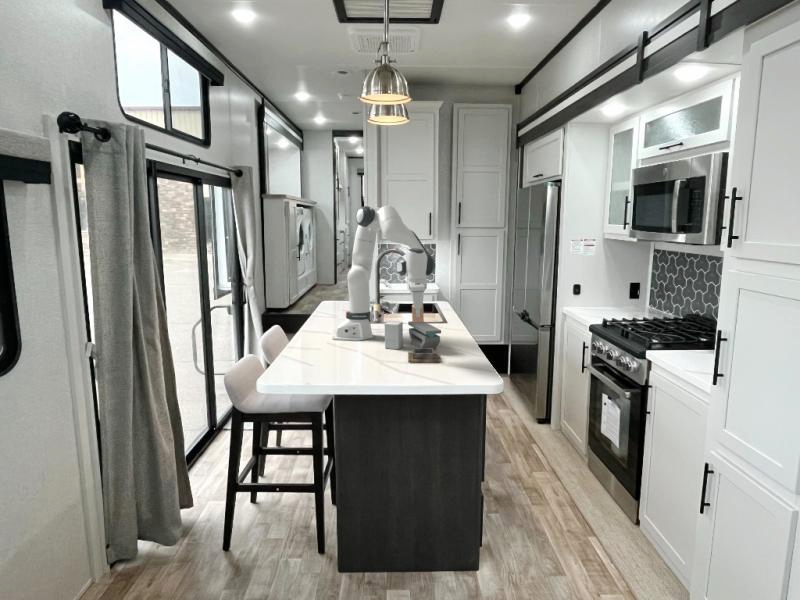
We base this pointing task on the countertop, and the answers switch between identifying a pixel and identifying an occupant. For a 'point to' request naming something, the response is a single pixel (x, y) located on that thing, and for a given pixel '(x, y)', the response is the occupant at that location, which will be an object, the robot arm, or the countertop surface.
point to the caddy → (423, 355)
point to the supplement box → (393, 335)
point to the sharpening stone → (424, 335)
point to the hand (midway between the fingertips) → (417, 315)
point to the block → (417, 319)
